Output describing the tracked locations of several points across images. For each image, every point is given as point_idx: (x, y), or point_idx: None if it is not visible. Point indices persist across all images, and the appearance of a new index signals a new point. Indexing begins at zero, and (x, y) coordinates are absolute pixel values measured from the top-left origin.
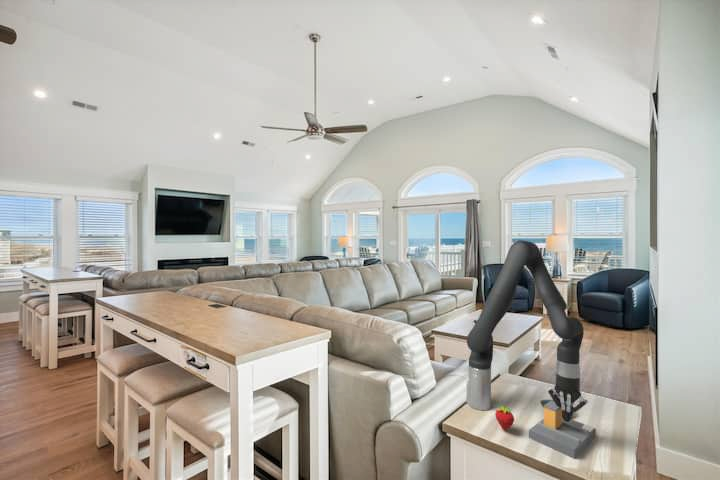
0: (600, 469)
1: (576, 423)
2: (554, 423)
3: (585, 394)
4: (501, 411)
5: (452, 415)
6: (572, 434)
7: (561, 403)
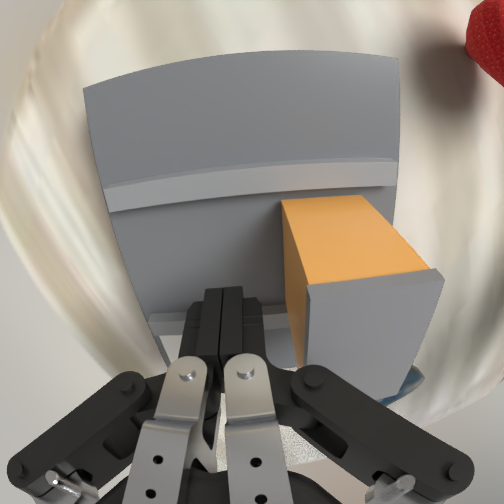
0: (22, 132)
1: None
2: (293, 217)
3: (319, 459)
4: None
5: None
6: (187, 246)
7: (266, 419)
